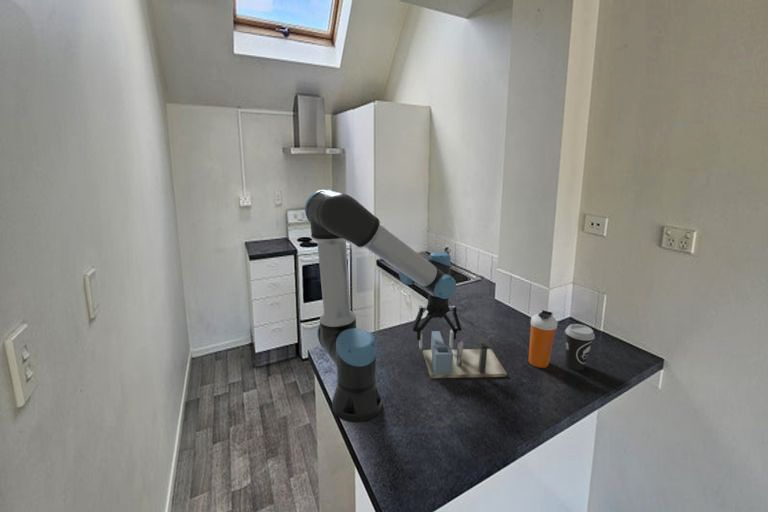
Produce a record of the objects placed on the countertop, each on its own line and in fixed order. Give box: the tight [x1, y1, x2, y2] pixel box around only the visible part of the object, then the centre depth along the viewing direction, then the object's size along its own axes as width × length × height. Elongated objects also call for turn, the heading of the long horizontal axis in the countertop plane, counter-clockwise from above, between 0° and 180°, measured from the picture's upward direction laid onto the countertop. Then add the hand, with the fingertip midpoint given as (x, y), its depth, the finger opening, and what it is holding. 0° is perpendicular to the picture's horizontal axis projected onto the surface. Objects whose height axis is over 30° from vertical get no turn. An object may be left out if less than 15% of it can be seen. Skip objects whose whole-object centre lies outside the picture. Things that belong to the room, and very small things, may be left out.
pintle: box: [456, 340, 464, 367], centre depth 134 cm, size 2×2×10 cm
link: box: [430, 330, 453, 375], centre depth 136 cm, size 17×6×8 cm, turn 3°
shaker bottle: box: [528, 309, 558, 369], centre depth 137 cm, size 9×9×20 cm
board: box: [422, 348, 508, 379], centre depth 138 cm, size 27×17×1 cm, turn 93°
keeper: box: [474, 335, 490, 373], centre depth 132 cm, size 3×7×12 cm, turn 3°
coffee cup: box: [564, 323, 596, 371], centre depth 136 cm, size 10×10×15 cm
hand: (435, 346), depth 143 cm, fingers open, 11 cm apart
